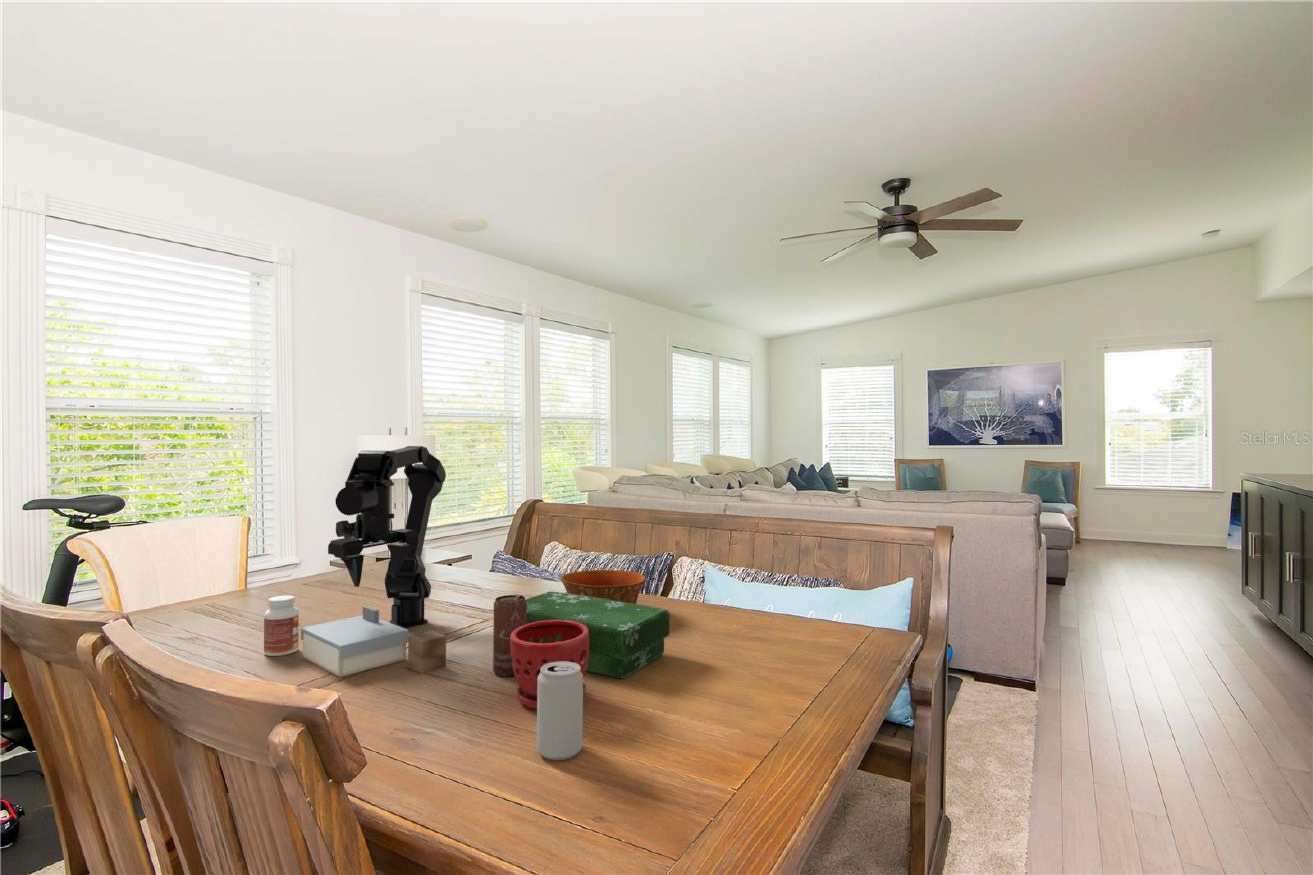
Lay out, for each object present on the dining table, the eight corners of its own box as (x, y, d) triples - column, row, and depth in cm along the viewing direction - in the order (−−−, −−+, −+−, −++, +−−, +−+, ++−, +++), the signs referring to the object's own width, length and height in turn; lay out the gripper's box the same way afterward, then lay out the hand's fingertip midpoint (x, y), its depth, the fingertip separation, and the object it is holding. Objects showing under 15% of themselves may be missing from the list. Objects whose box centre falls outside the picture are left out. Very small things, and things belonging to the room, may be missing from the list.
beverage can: (538, 742, 96) (539, 660, 96) (583, 740, 96) (583, 659, 96) (534, 764, 90) (535, 675, 90) (581, 762, 90) (582, 674, 90)
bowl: (598, 601, 178) (598, 564, 178) (662, 614, 166) (662, 574, 166) (542, 618, 161) (542, 577, 161) (608, 634, 149) (609, 590, 149)
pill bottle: (299, 653, 134) (300, 599, 134) (264, 659, 130) (265, 603, 130) (296, 645, 139) (297, 593, 139) (262, 650, 135) (263, 596, 135)
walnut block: (431, 661, 130) (432, 630, 130) (445, 666, 127) (446, 635, 127) (408, 667, 126) (408, 636, 126) (422, 673, 123) (422, 641, 123)
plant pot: (520, 685, 118) (520, 618, 118) (593, 686, 117) (593, 619, 117) (500, 716, 105) (501, 640, 105) (582, 717, 104) (583, 642, 104)
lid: (366, 625, 142) (366, 602, 142) (408, 642, 130) (408, 617, 130) (300, 639, 131) (301, 615, 131) (340, 659, 120) (340, 632, 120)
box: (671, 656, 135) (672, 607, 135) (623, 685, 119) (624, 630, 119) (550, 632, 150) (551, 588, 150) (493, 654, 135) (494, 606, 135)
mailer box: (367, 642, 141) (367, 619, 141) (405, 659, 131) (405, 634, 131) (303, 657, 131) (303, 632, 131) (339, 677, 121) (339, 650, 121)
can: (532, 667, 126) (533, 595, 126) (515, 679, 120) (515, 603, 120) (505, 664, 128) (505, 592, 128) (486, 675, 122) (487, 600, 122)
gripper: (386, 502, 152) (386, 569, 153) (310, 511, 136) (311, 586, 136) (420, 505, 147) (420, 575, 147) (345, 515, 131) (345, 593, 131)
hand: (375, 582), depth 141 cm, fingers open, 9 cm apart
